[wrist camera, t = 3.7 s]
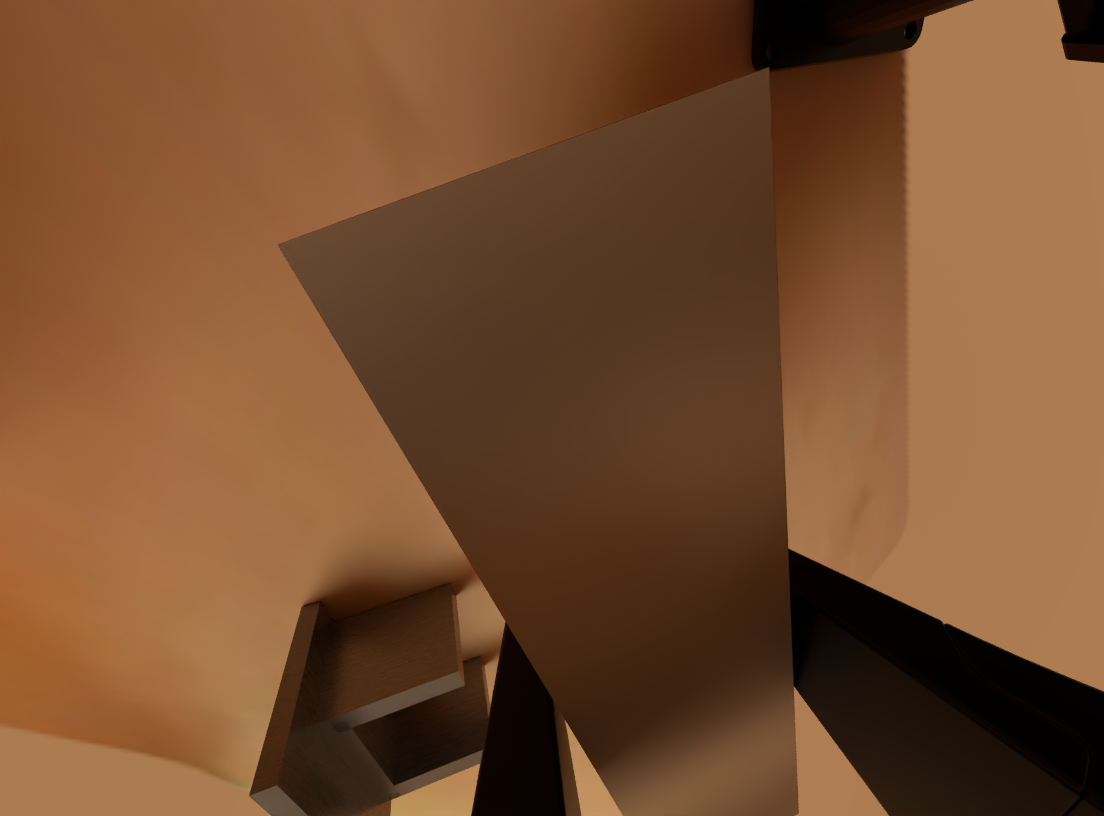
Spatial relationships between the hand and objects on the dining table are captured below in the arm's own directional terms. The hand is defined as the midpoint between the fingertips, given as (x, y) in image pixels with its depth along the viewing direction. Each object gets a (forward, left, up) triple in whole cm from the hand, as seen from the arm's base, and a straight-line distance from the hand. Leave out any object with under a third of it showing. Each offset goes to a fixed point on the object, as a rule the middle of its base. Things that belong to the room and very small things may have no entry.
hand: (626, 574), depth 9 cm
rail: (0, 0, -1) cm, 1 cm away
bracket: (+9, +13, -10) cm, 19 cm away
